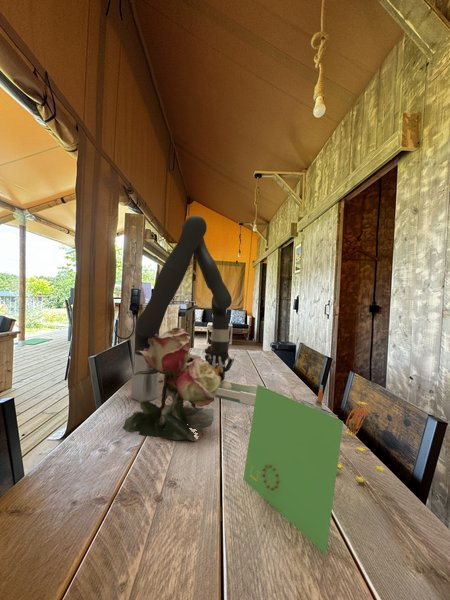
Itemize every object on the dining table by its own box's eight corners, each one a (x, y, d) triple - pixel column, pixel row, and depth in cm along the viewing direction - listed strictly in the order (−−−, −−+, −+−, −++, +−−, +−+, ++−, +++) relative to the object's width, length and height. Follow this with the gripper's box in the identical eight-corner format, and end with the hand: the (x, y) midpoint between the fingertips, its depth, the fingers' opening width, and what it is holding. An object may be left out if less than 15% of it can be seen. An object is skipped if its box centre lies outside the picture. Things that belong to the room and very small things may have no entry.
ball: (228, 393, 116) (229, 383, 115) (220, 391, 117) (220, 382, 117) (232, 390, 119) (233, 381, 119) (224, 389, 121) (224, 379, 121)
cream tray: (259, 406, 106) (259, 396, 106) (204, 394, 117) (204, 384, 117) (268, 397, 116) (268, 388, 116) (217, 386, 127) (217, 377, 127)
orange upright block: (217, 391, 117) (217, 369, 117) (211, 390, 118) (212, 368, 118) (223, 387, 122) (224, 366, 122) (218, 386, 123) (219, 365, 123)
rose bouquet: (211, 446, 77) (216, 337, 76) (114, 432, 83) (118, 330, 82) (228, 409, 102) (232, 326, 102) (153, 400, 108) (156, 322, 107)
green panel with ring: (396, 515, 60) (410, 401, 61) (323, 556, 46) (343, 407, 47) (312, 462, 78) (324, 375, 79) (241, 480, 64) (257, 373, 65)
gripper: (201, 338, 120) (199, 379, 120) (230, 342, 113) (229, 385, 114) (210, 336, 126) (208, 375, 127) (238, 340, 120) (236, 380, 120)
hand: (218, 379), depth 120 cm, fingers closed on orange upright block, 2 cm apart
